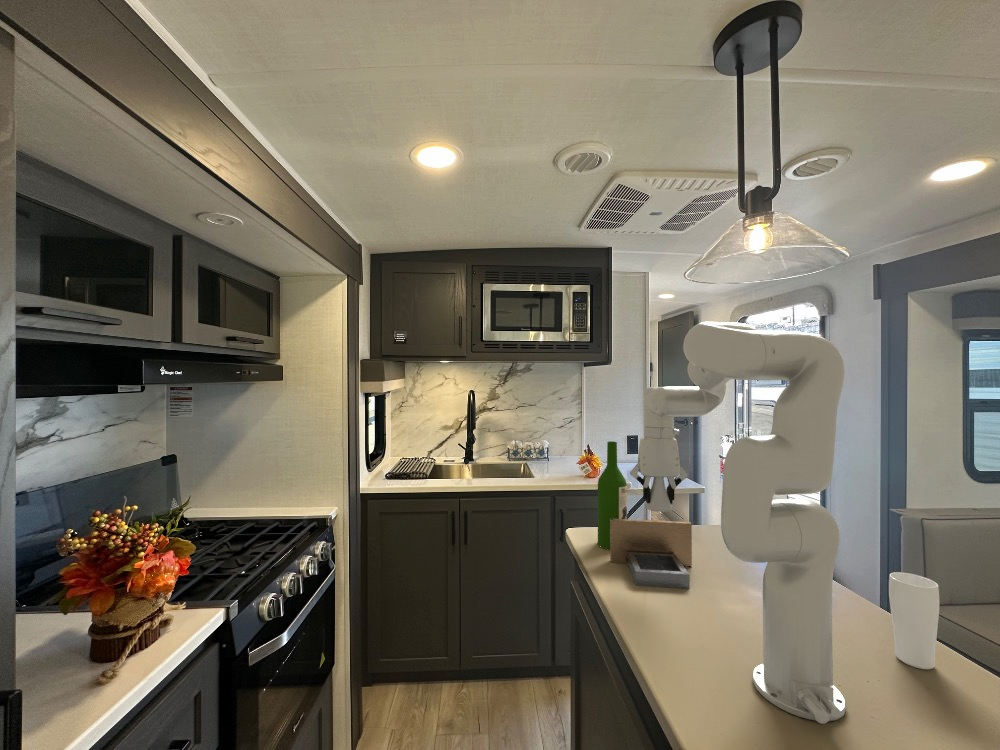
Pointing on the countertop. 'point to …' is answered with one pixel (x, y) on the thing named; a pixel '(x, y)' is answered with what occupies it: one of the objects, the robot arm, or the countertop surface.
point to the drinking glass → (914, 618)
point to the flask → (659, 497)
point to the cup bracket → (653, 551)
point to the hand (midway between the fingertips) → (658, 501)
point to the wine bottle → (610, 496)
